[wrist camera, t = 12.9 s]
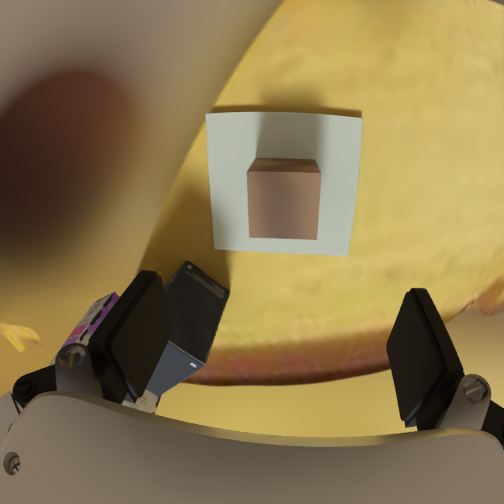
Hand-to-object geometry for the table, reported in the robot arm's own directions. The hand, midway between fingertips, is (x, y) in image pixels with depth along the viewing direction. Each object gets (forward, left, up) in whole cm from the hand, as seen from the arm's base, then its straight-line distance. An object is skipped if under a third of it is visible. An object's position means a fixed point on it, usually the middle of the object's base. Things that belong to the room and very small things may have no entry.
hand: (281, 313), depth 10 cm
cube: (0, 0, -16) cm, 16 cm away
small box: (+11, +14, -17) cm, 25 cm away
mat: (0, 0, -16) cm, 16 cm away
